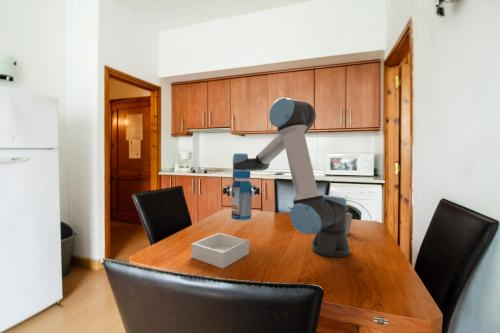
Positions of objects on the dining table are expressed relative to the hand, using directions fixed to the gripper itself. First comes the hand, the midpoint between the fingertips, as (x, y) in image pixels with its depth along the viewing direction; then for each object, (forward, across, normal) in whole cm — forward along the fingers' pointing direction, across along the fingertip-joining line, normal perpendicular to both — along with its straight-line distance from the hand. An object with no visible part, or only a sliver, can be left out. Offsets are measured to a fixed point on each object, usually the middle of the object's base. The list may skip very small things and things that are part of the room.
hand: (242, 194), depth 96 cm
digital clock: (-30, -51, -25) cm, 64 cm away
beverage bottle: (-5, 0, -11) cm, 12 cm away
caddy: (-1, +8, -25) cm, 26 cm away
